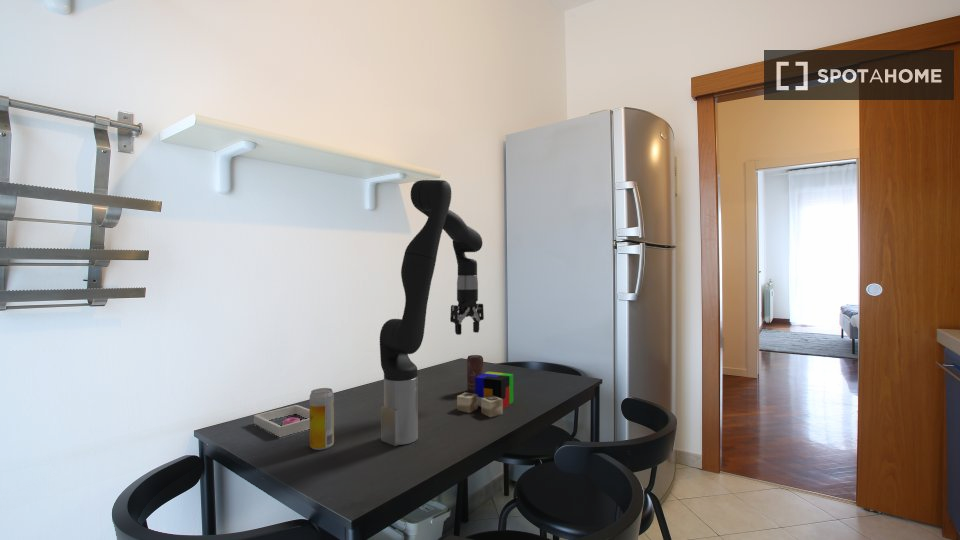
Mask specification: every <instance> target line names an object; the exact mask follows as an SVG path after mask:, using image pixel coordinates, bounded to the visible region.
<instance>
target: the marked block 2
mask: <svg viewBox="0 0 960 540" xmlns="http://www.w3.org/2000/svg"><path fill="white" fill-rule="evenodd" d="M480 407H481V409H480V410H481V411H480V412H481V414H483V415H485V416H487V417H489V418H494V417H498V416H501V415H502V416H503V414H504V408H503V399H501V398H498V397H495V396H490V397H485V398H481V406H480Z"/></svg>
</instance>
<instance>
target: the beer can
mask: <svg viewBox="0 0 960 540" xmlns="http://www.w3.org/2000/svg"><path fill="white" fill-rule="evenodd" d="M334 393H335V392H333V389H332V388H329V387H322V388H317V389H316V388H315V389H312V390H311V392H310V394H309V409H310V430H309V447H310V448H311V449H312V450H314V451H324V450H327V449H329V448H331V447H332V446H333V445H334V444H335V395H334Z"/></svg>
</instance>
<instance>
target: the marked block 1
mask: <svg viewBox="0 0 960 540" xmlns="http://www.w3.org/2000/svg"><path fill="white" fill-rule="evenodd" d="M478 407H479V406H478V397H477V394H473V393H469V392H463V393H461V394H459V395H457V396H456V410H457V411H458V412H459V411H460V412H465V413H472V412H474V411H476V410H478V409H479V408H478Z"/></svg>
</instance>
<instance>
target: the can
mask: <svg viewBox="0 0 960 540" xmlns="http://www.w3.org/2000/svg"><path fill="white" fill-rule="evenodd" d="M481 374H484V358H483V355H480V354H479V355H478V354H471V355H468V356H467V359H466V380H467V381H466V383H467V384H466V385H467V387H466V391H467V393H471V394H475V377H477V376H479V375H481Z"/></svg>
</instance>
